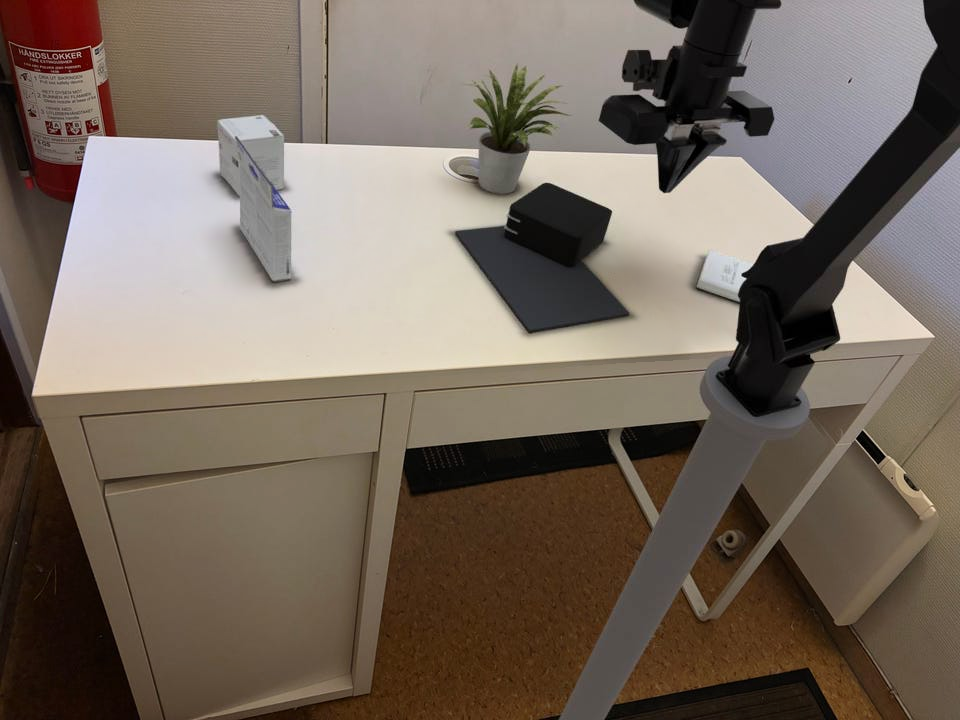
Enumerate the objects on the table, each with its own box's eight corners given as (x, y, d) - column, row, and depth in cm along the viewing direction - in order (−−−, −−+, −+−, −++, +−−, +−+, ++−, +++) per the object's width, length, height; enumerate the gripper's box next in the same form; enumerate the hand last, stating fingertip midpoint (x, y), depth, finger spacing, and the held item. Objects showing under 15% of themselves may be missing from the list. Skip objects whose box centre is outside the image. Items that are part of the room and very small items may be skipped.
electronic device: (615, 210, 94) (546, 180, 98) (580, 239, 87) (507, 206, 91) (606, 239, 97) (539, 209, 100) (571, 269, 90) (501, 236, 93)
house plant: (483, 223, 96) (506, 98, 85) (421, 174, 103) (435, 53, 93) (563, 201, 104) (593, 84, 93) (500, 157, 111) (521, 44, 101)
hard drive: (797, 324, 89) (695, 288, 92) (800, 290, 95) (705, 258, 98) (802, 313, 88) (700, 277, 91) (806, 279, 94) (709, 247, 97)
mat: (628, 315, 85) (629, 313, 85) (528, 333, 80) (529, 330, 80) (545, 224, 98) (546, 221, 98) (454, 233, 93) (455, 230, 93)
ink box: (294, 280, 80) (294, 182, 73) (272, 284, 79) (270, 185, 72) (259, 225, 87) (255, 131, 80) (239, 228, 86) (233, 133, 79)
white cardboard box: (219, 175, 95) (215, 119, 90) (265, 167, 98) (263, 113, 93) (239, 197, 91) (236, 140, 87) (286, 189, 95) (285, 134, 90)
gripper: (731, 19, 82) (685, 153, 92) (589, 16, 74) (555, 163, 84) (804, 56, 75) (745, 197, 84) (655, 57, 67) (610, 213, 77)
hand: (664, 191), depth 83 cm, fingers closed
